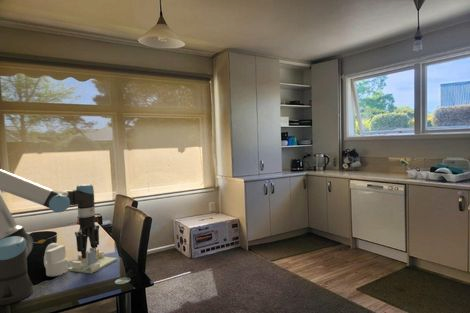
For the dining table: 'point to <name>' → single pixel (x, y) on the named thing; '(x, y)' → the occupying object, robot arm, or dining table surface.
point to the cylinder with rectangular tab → (56, 261)
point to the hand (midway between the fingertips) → (89, 262)
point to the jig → (99, 264)
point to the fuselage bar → (82, 258)
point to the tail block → (91, 257)
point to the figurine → (49, 249)
